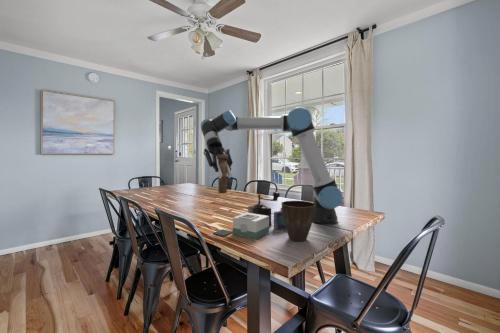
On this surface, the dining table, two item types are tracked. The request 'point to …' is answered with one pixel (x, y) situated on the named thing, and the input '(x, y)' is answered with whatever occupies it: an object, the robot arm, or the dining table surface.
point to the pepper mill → (263, 207)
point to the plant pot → (298, 218)
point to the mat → (223, 232)
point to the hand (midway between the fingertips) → (225, 176)
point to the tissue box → (251, 225)
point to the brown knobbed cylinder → (223, 166)
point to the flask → (279, 220)
